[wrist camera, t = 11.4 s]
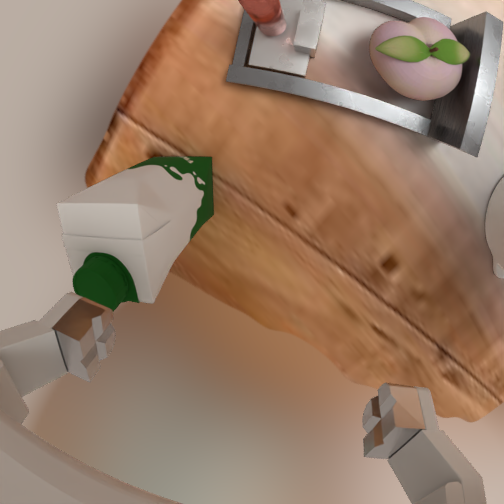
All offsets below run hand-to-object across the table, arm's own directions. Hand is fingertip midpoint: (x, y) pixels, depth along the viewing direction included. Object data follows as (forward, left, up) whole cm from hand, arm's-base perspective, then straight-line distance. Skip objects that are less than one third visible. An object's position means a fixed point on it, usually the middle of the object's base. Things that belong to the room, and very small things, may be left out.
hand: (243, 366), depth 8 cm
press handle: (+4, -14, -29) cm, 32 cm away
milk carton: (+12, +6, -29) cm, 32 cm away
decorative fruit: (-9, -14, -29) cm, 34 cm away
